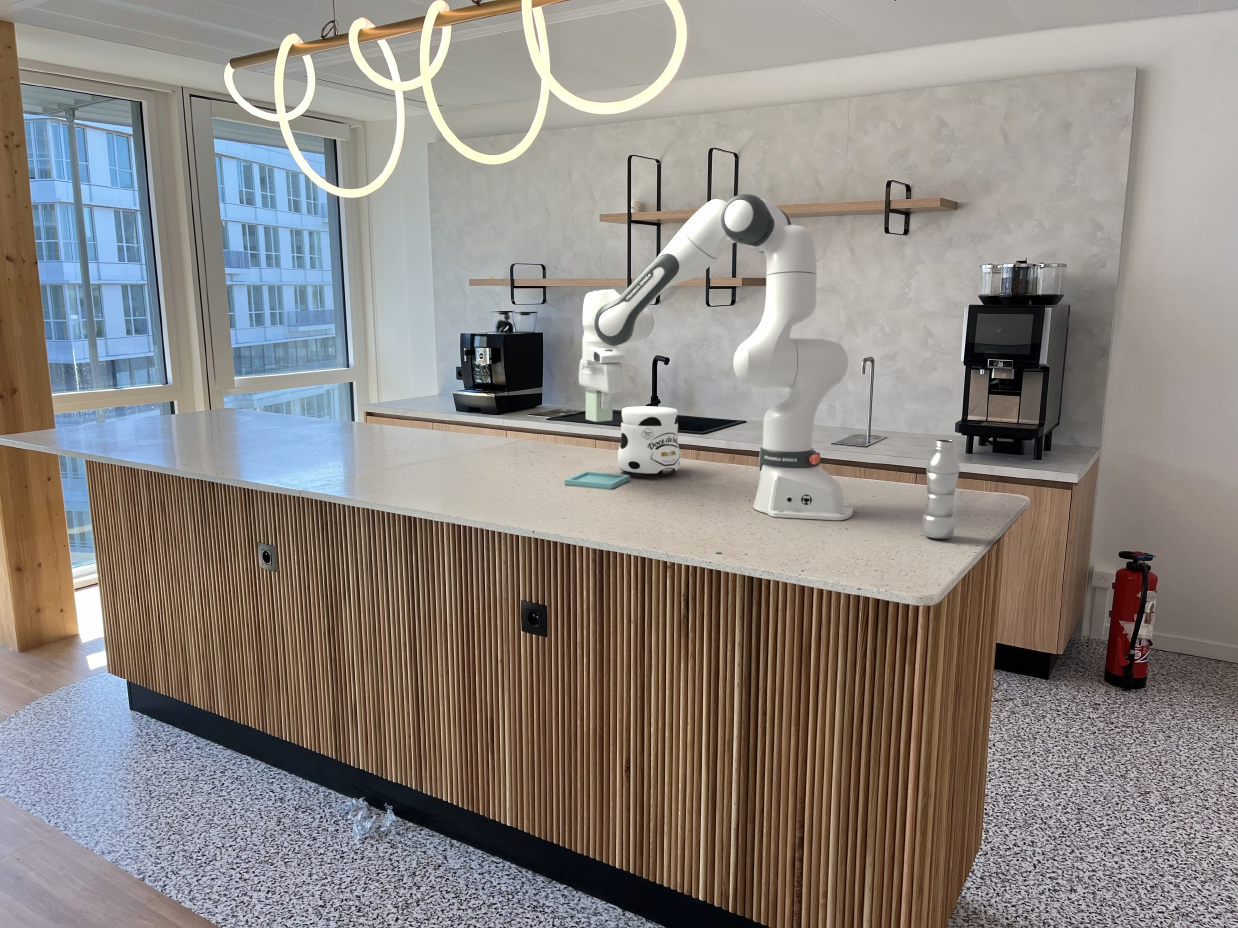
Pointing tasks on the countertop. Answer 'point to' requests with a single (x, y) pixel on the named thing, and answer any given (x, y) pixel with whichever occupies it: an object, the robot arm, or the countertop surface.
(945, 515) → the plastic bottle
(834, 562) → the countertop surface
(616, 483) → the tray
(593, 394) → the tea tin
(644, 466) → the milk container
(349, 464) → the countertop surface
